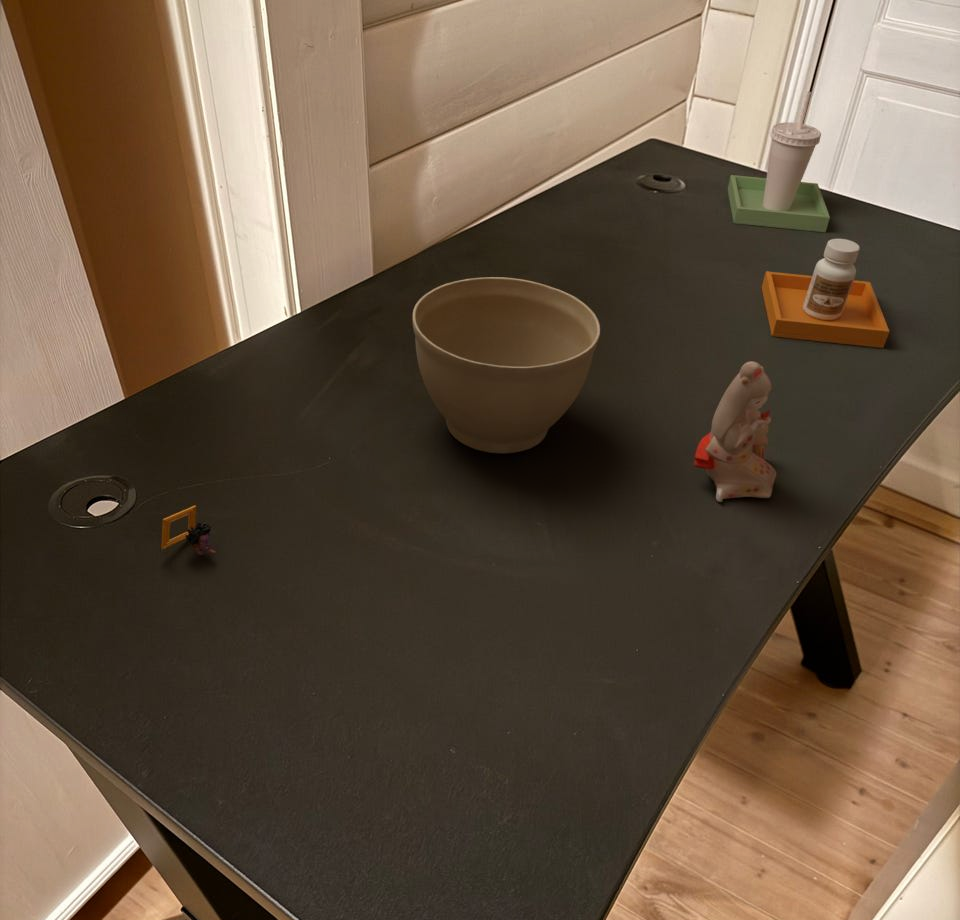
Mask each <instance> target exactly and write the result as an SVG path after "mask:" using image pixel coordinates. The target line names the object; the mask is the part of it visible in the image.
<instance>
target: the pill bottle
mask: <svg viewBox="0 0 960 920" xmlns="http://www.w3.org/2000/svg"><path fill="white" fill-rule="evenodd" d="M859 252H860V245H859V244H858V243H856V242H855V241H852V240H850V239H845V238H832V239H829V240H828V241H827V243H826V246H825V249H824V252H823V257H824V258H821V259H819V260H818V261H817V262H816V264H815V267H814V270H813V273H812V275H811V276H812V279H811V282H810V285H809V289H808V292H807V295H806V298H805V301H804V304H803V309H804V311H805V312H806V313H807V314H808V315H809V316H811V317H814V318H816V319H821V320H834V319H837V318H839V317H840V316H841V314H842V312H843V309H844V306H845V304H846V301H847V298H848V295H849V292H850V289H851V286H852V283H853V281H854V280H855V278H856V275H857V268H856V266H855V265H854V263H856V261H857V258H858V255H859Z"/></svg>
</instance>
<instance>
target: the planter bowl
mask: <svg viewBox="0 0 960 920" xmlns="http://www.w3.org/2000/svg"><path fill="white" fill-rule="evenodd" d="M412 328H413V333H414V336H415V352H416V353H415V354H416V358H417V359H416V360H417V364H418V368H419V372H420V376H421V378H422V381H423V384H424V387H425V388H426V391H427V393H428V395H429V396H430V399H431V401H433V404H434V406H435V407H436V408H437V410H438V411H439V413H440V414H441V415H442V416H443V418H444V419H445V424H446V427H447V429H448V431H449V433H450V434H451V435H452V437H453V438H455V440H457V441H458V442H459V443H460V444H463V445H465V446H467V447H469V448H472V449H473V450H477V451H480V452H483V453H484V452H485V453H490V454H515V453H519V452H520V453H521V452H524V451H527V450H531V449H532V448H534V447H536V446H537V445H539V444H540V443H542V441H543V440H544V439H545V438H546V436H547V434H548V432H549V429H550V428H551V427H552V426H554V425H555V423H557V422H558V421H559V420H560V419H561V417H563V416H564V414H565V413H566V412H568V410H569V408H571V406H572V404H573V403H574V402H575V401H576V399H577V397H578V395H580V392H581V391H582V388H583V386H584V384H585V382H586V379H587V377H588V374H589V372H590V369H591V365H592V362H593V357H594V352H595V351H596V349H597V346H598V344H599V341H600V336H601V325H600V321H599V319H598V317H597V315H596V314H595V312H594V311H593V310H592V309H591V308H590V307H589V306H588V305H587V304H586V303H584V302H583V301H581V299H579V298H578V297H576V296H575V295H572V294H570V293H567V292H565V291H563V290H561V289H558V288H556V287H554V286H553V287H552V286H550V285H547V284H543V283H540V282H536V281H532V280H527V279H522V278H513V277H505V276H504V277H503V276H502V277H497V276H496V277H494V276H490V277H487V276H485V277H473V278H465V279H459V280H455V281H451V282H447V283H445V284H442V285H440V286H437V287H435V288H433V289H431V290H430V291H428V292H427V293H425V294H424V295H422V296H421V298H420V299H418V301H417V302H416V304H415V305H414V308H413V310H412Z"/></svg>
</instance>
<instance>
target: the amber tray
mask: <svg viewBox="0 0 960 920" xmlns="http://www.w3.org/2000/svg"><path fill="white" fill-rule="evenodd" d="M812 276H813V275H805V274H798V273H797V274H796V273H788V272H787V273H786V272H777V271H768V270H766V271H765V274H764V277H763V281H762V284H761V291H762V296H763V301H764V306H765V311H766V315H767V316H766V317H767V320H768V324H769V325H768V326H769V331H770V334H771V337H774V338H775V337H776V338H782V339H783V338H784V339H795V340H804V341H813V342H814V341H815V342H821V343H830V344H831V343H832V344H842V345H851V346H859V347H870V348H878V349H883V348H884V347H885V344H886V342H887V339H888V336H889V335H890V329H889V327H888V323H887V321H886V319H885V315H884V313H883V311H882V309H881V306H880V304H879V301H878V299H877V295H876V293H875V291H874V289H873V285H872V283H871V282H870V281H865V280H857V279H856V280H855V279H854V281H853V283H852V286H851V289H850V292H849V295H848V298H847V301H846V304H845V306H844V309H843V312H842V314H841V316H840V317H839V318H837V319H834V320H821V319H816V318H814V317H811V316H809V315H808V314H807V313H806V312H805V311H804V309H803V304H804V301H805V298H806V295H807V292H808V289H809V285H810V282H811V279H812Z"/></svg>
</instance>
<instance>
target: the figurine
mask: <svg viewBox="0 0 960 920" xmlns="http://www.w3.org/2000/svg"><path fill="white" fill-rule="evenodd" d="M771 391H772V383H771V380H770V378H769V376H768V375H767V374H766V372H765V367H763V366H762V365H760V364H759V362H757V361H747V362H745V363H744V364H743V365H742V366H741V367H740V370H739V372H738V373H737V375H736V376H735V377H734V379H732V381H731V382H730V384H729V385H728V387H727V388H726V390H725V392H724V393H723V395H722V397H721V399H720V401H719V403H718V405H717V407H716V409H715V411H714V414H713V418H712V422H711V430H710V432H708V433H707V434H706V435H705V436H703V437H702V438H701V440H700V441H699V443H698V445H697V448H696V450H695V454H694V464H693V465H694V467H695V468H696V467H697V468H699V469H705V471H706V474H707V476H708V477H709V478H710V479H711V480H712V481H713V483H714V485H715V489H716V494H715V500H716V501H717V502H719V503H722V502H723V500H727V499H735V498H750V497H751V498H757V499H769V498H771V496H772V493H773V487H774V483H775V479H776V477H777V471H776V469H775V468H774V467H773V466H772V465H771V464H770V463H769V462H767V461H766V460H765V446H768V445H769V444H770V442H769V441H770V440H769V437H768V433H769V431H770V427H769V424H770V423H771V422H772V418H771V416H770V412H771V409H768V410H767V411H765V412H761V411H760V410H759V409H761V408H763V406H764V405H765V404H766V402H767V401H768V397H769V393H770V392H771Z"/></svg>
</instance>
